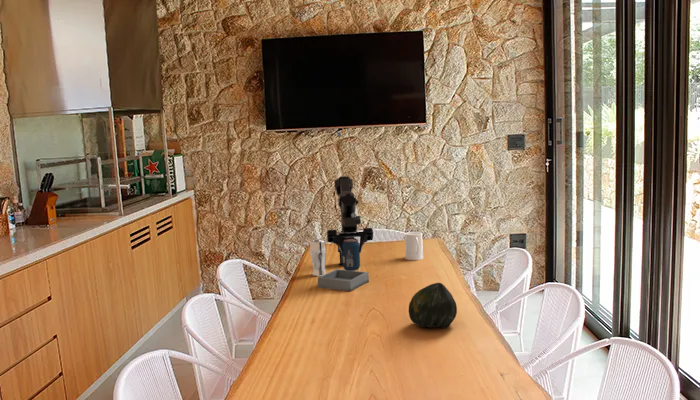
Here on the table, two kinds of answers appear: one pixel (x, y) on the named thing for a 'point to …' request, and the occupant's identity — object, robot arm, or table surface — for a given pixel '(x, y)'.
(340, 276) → the open box
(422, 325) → the squash
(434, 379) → the table surface
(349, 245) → the soda can
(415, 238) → the mug
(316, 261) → the beer glass
